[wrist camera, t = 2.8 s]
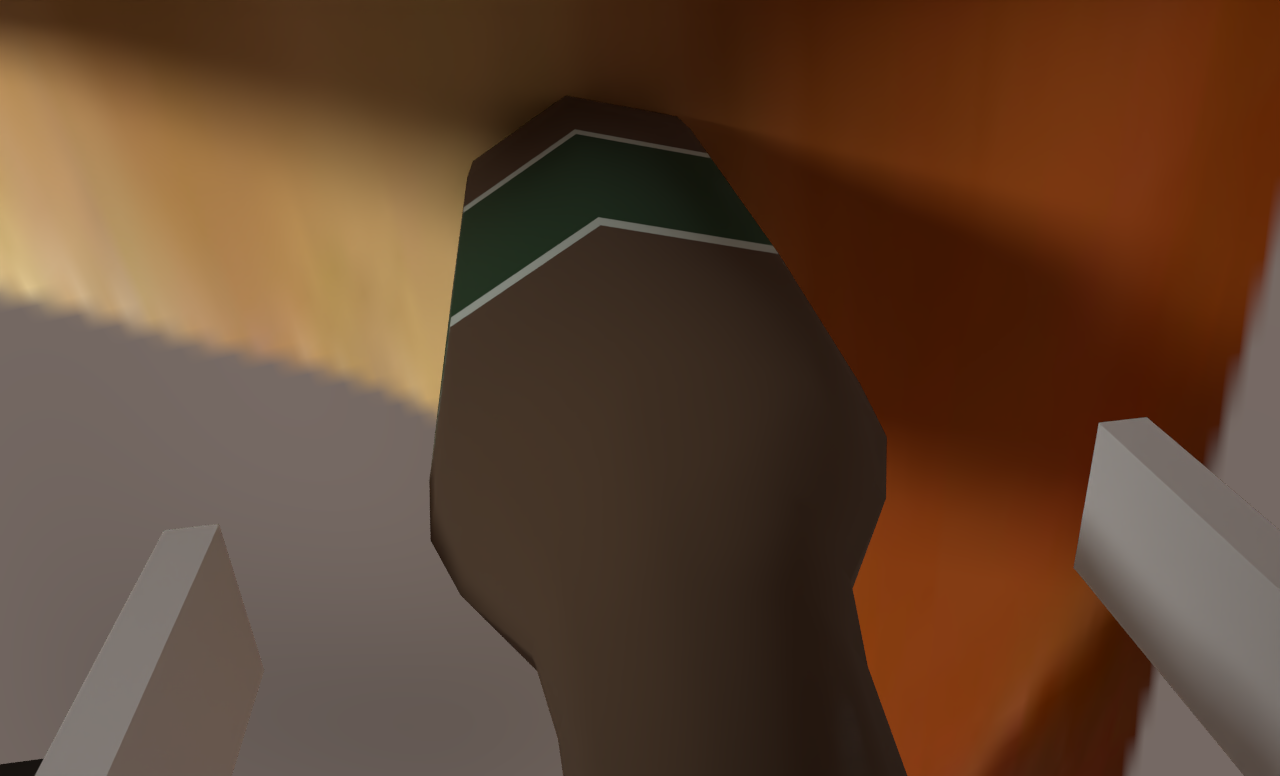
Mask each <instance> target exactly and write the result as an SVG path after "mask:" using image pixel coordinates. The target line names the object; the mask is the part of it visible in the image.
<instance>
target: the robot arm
mask: <svg viewBox="0 0 1280 776" xmlns="http://www.w3.org/2000/svg"><path fill="white" fill-rule="evenodd" d="M1074 569H1075V570H1076V571H1077V572H1078V573H1079V575H1080V576H1081V577H1082V578H1083V580H1084V581H1085V582H1086V583H1087V584H1088V586H1089V587H1090V588H1091V589H1092V591H1093V592H1094V593H1095V594H1096V595H1097V597H1098V598H1099V599H1100V600H1101V602H1102V603H1103V604H1104V605H1105V606H1106V608H1107V609H1108V610H1109V611H1110V613H1111V614H1112V615H1113V616H1114V617H1115V619H1116V620H1117V621H1118V622H1119V624H1120V625H1121V626H1122V627H1123V628H1124V630H1125V631H1126V632H1127V633H1128V635H1129V636H1130V637H1131V638H1132V639H1133V641H1134V642H1135V643H1136V644H1137V646H1138V647H1139V648H1140V649H1141V650H1142V652H1143V653H1144V654H1145V655H1146V657H1147V658H1148V659H1149V660H1150V661H1151V663H1152V664H1153V665H1154V666H1155V668H1156V669H1157V670H1158V671H1159V672H1160V674H1161V675H1162V676H1163V677H1164V679H1165V680H1166V681H1167V682H1168V683H1169V685H1170V686H1171V687H1172V688H1173V690H1174V691H1175V692H1176V693H1177V694H1178V696H1179V697H1180V698H1181V699H1182V701H1183V702H1184V703H1185V704H1186V705H1187V707H1188V708H1189V709H1190V710H1191V711H1192V713H1193V714H1194V715H1195V716H1196V718H1197V719H1198V720H1199V721H1200V722H1201V724H1202V725H1203V726H1204V727H1205V728H1206V730H1207V731H1208V732H1209V734H1210V735H1211V736H1212V737H1213V738H1214V740H1215V741H1216V742H1217V743H1218V745H1219V746H1220V747H1221V748H1222V749H1223V751H1224V752H1225V753H1226V754H1227V756H1228V757H1229V758H1230V759H1231V760H1232V762H1233V763H1234V764H1235V765H1236V767H1237V768H1238V769H1239V770H1240V771H1241V773H1242V774H1243V775H1244V776H1280V530H1279V529H1278V528H1277V527H1276V526H1275V525H1273V524H1272V523H1271V522H1269V520H1267V519H1266V518H1265V517H1264V516H1263V515H1261V514H1260V513H1259V512H1258V511H1257V510H1256V509H1254V508H1253V507H1252V506H1251V505H1250V504H1248V503H1247V502H1246V501H1245V500H1244V499H1243V498H1241V497H1240V496H1239V495H1238V494H1237V493H1236V492H1234V491H1233V490H1232V489H1231V488H1230V487H1229V486H1227V485H1226V484H1225V483H1224V482H1223V481H1221V480H1220V479H1219V478H1218V477H1217V476H1216V475H1214V474H1213V473H1212V472H1211V471H1210V470H1208V469H1207V468H1206V467H1205V466H1204V465H1203V464H1201V463H1200V462H1199V461H1198V460H1197V459H1195V458H1194V457H1193V456H1192V455H1191V454H1190V453H1188V452H1187V451H1186V450H1185V449H1184V448H1182V447H1181V446H1180V445H1179V444H1178V443H1177V442H1175V441H1174V440H1173V439H1172V438H1171V437H1170V436H1168V435H1167V434H1166V433H1165V432H1164V431H1162V430H1161V429H1160V428H1159V427H1158V426H1157V425H1155V424H1154V423H1153V422H1152V421H1151V420H1149V419H1148V418H1147V417H1144V418H1135V419H1126V420H1118V421H1109V422H1100V423H1099V425H1098V431H1097V436H1096V442H1095V448H1094V454H1093V459H1092V465H1091V471H1090V477H1089V483H1088V488H1087V494H1086V500H1085V506H1084V511H1083V517H1082V523H1081V529H1080V534H1079V540H1078V546H1077V552H1076V558H1075V563H1074ZM263 672H264V668H263V665H262V662H261V658H260V655H259V652H258V649H257V646H256V642H255V639H254V636H253V632H252V629H251V626H250V623H249V620H248V617H247V613H246V610H245V607H244V603H243V601H242V597H241V594H240V591H239V587H238V584H237V581H236V578H235V574H234V571H233V568H232V565H231V561H230V558H229V555H228V552H227V549H226V545H225V542H224V539H223V536H222V533H221V529H220V526H219V524H215V525H206V526H198V527H189V528H181V529H172V530H164V531H163V533H162V535H161V537H160V539H159V540H158V542H157V544H156V546H155V548H154V550H153V552H152V554H151V556H150V558H149V559H148V561H147V563H146V565H145V567H144V569H143V571H142V573H141V575H140V577H139V579H138V580H137V582H136V584H135V586H134V588H133V590H132V592H131V594H130V596H129V597H128V599H127V602H126V603H125V605H124V607H123V609H122V611H121V613H120V615H119V616H118V618H117V620H116V622H115V624H114V626H113V628H112V630H111V632H110V634H109V636H108V638H107V639H106V641H105V643H104V645H103V647H102V649H101V651H100V653H99V655H98V656H97V658H96V660H95V662H94V664H93V666H92V668H91V670H90V672H89V674H88V676H87V677H86V679H85V681H84V683H83V685H82V687H81V689H80V691H79V693H78V695H77V696H76V698H75V700H74V702H73V704H72V706H71V708H70V710H69V712H68V713H67V715H66V718H65V719H64V721H63V723H62V725H61V727H60V729H59V731H58V732H57V734H56V736H55V738H54V740H53V742H52V744H51V746H50V748H49V750H48V752H47V754H46V755H45V757H44V759H38V760H31V761H23V762H15V763H8V764H1V765H0V776H232V773H233V770H234V766H235V763H236V760H237V757H238V754H239V750H240V747H241V744H242V740H243V737H244V734H245V731H246V727H247V724H248V721H249V718H250V714H251V711H252V708H253V705H254V701H255V698H256V695H257V692H258V688H259V685H260V682H261V678H262V675H263Z"/></svg>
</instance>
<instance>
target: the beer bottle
mask: <svg viewBox="0 0 1280 776" xmlns="http://www.w3.org/2000/svg"><path fill="white" fill-rule="evenodd" d="M886 446H887V437H886V435H885V433H884V431H883V429H882V427H881V425H880V423H879V421H878V419H877V417H876V415H875V413H874V411H873V409H872V407H871V405H870V403H869V401H868V399H867V397H866V395H865V393H864V391H863V389H862V387H861V385H860V383H859V382H858V380H857V378H856V377H855V375H854V374H853V372H852V370H851V369H850V367H849V366H848V364H847V362H846V361H845V359H844V358H843V356H842V354H841V353H840V351H839V350H838V348H837V346H836V345H835V343H834V342H833V340H832V338H831V337H830V335H829V334H828V332H827V330H826V329H825V327H824V326H823V324H822V322H821V321H820V319H819V318H818V316H817V314H816V313H815V311H814V310H813V308H812V306H811V305H810V303H809V302H808V300H807V298H806V297H805V295H804V294H803V292H802V290H801V289H800V287H799V286H798V284H797V282H796V281H795V279H794V278H793V276H792V274H791V273H790V271H789V270H788V268H787V266H786V265H785V263H784V262H783V260H782V258H781V257H780V255H779V254H778V252H777V251H776V249H775V248H774V247H773V245H772V244H771V242H770V241H769V240H768V238H767V237H766V235H765V234H764V233H763V231H762V230H761V228H760V227H759V225H758V224H757V223H756V221H755V220H754V218H753V217H752V216H751V214H750V213H749V211H748V210H747V209H746V207H745V206H744V204H743V203H742V201H741V200H740V199H739V197H738V196H737V194H736V193H735V192H734V190H733V189H732V187H731V186H730V184H729V183H728V182H727V180H726V179H725V177H724V176H723V175H722V173H721V172H720V170H719V169H718V168H717V166H716V165H715V163H714V162H713V160H712V159H711V158H710V156H709V155H708V153H707V152H706V151H705V149H704V148H703V146H702V145H701V144H700V142H699V141H698V139H697V138H696V136H695V135H694V134H693V132H692V131H691V129H690V128H689V127H687V126H686V125H685V124H684V123H683V122H682V121H681V120H680V119H679V118H678V117H677V116H671V115H666V114H661V113H655V112H650V111H645V110H639V109H634V108H628V107H623V106H618V105H612V104H607V103H602V102H596V101H591V100H586V99H580V98H575V97H570V96H564V97H563V98H562V99H560V100H559V101H557V102H556V103H555V104H553V105H552V106H550V107H549V108H547V109H546V110H545V111H543V112H542V113H540V114H539V115H538V116H536V117H535V118H533V119H532V120H531V121H529V122H528V123H526V124H525V125H524V126H522V127H521V128H519V129H518V130H516V131H515V132H514V133H512V134H511V135H509V136H508V137H507V138H505V139H504V140H502V141H501V142H500V143H498V144H497V145H495V146H494V147H492V148H491V149H490V150H488V151H487V152H485V153H484V154H483V155H481V156H480V157H478V158H477V159H476V160H474V161H473V163H472V166H471V169H470V172H469V174H468V177H467V184H466V191H465V199H464V206H463V214H462V222H461V229H460V237H459V244H458V252H457V259H456V267H455V275H454V282H453V290H452V298H451V306H450V314H449V323H448V331H447V339H446V348H445V356H444V364H443V373H442V381H441V389H440V398H439V406H438V414H437V422H436V431H435V439H434V448H433V456H432V464H431V473H430V529H431V530H430V531H431V542H432V544H433V545H434V547H435V549H436V551H437V553H438V554H439V556H440V558H441V560H442V562H443V564H444V566H445V567H446V569H447V571H448V573H449V574H450V576H451V578H452V580H453V582H454V584H455V585H456V587H457V589H458V591H459V593H460V595H461V596H462V597H463V598H464V599H465V600H466V601H467V602H468V603H469V604H470V605H471V606H472V607H473V608H474V609H475V610H476V611H477V612H478V613H479V614H480V615H481V616H482V617H483V618H484V619H485V620H486V621H487V622H488V623H489V624H490V625H491V626H492V627H493V628H494V629H495V630H496V631H497V632H498V633H500V635H502V637H504V638H505V639H506V640H507V642H509V643H510V644H511V645H512V646H513V647H514V648H515V649H516V650H517V651H518V652H519V653H520V654H521V655H522V656H523V657H524V658H525V659H526V660H527V661H528V662H529V663H530V664H531V665H532V666H533V667H534V668H535V669H536V670H537V672H538V675H539V678H540V681H541V685H542V688H543V691H544V694H545V697H546V701H547V704H548V707H549V711H550V714H551V717H552V721H553V724H554V727H555V730H556V734H557V737H558V742H559V748H560V756H561V763H562V770H563V776H907V774H906V771H905V768H904V766H903V763H902V760H901V757H900V755H899V752H898V749H897V746H896V744H895V741H894V738H893V735H892V733H891V730H890V727H889V724H888V721H887V719H886V716H885V713H884V710H883V708H882V705H881V702H880V699H879V697H878V694H877V691H876V688H875V686H874V683H873V680H872V677H871V675H870V672H869V669H868V666H867V661H866V656H865V651H864V645H863V640H862V635H861V630H860V625H859V620H858V615H857V610H856V605H855V600H854V595H853V590H852V588H853V585H854V583H855V580H856V577H857V575H858V572H859V569H860V567H861V564H862V561H863V558H864V556H865V553H866V550H867V548H868V545H869V542H870V540H871V537H872V534H873V532H874V529H875V526H876V523H877V521H878V518H879V515H880V513H881V510H882V507H883V505H884V502H885V499H886Z"/></svg>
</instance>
